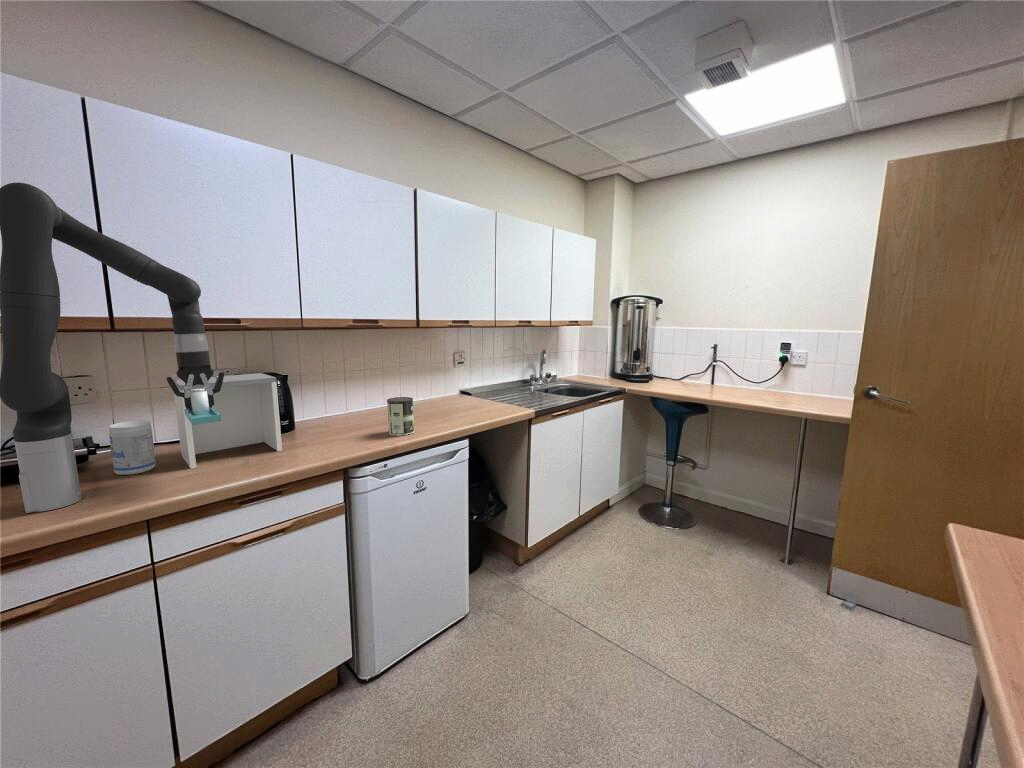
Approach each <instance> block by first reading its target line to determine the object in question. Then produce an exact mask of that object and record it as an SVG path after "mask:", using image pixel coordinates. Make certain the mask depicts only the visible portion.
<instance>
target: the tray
mask: <svg viewBox="0 0 1024 768" xmlns="http://www.w3.org/2000/svg"><path fill="white" fill-rule="evenodd" d="M190 398H191V404H192V410H191V411H189V409H184V411H185V415H186V417H187V418H188V420H189V421H190V423H191V424H192V425H198V424H205V423H212V422H218V421H221V415H220V414H219V413H218V412H217V411H216V410H215V409H214V408H213V407H212V408H209V403H208V395H207V391H206V390H204V389H191V392H190Z"/></svg>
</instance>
